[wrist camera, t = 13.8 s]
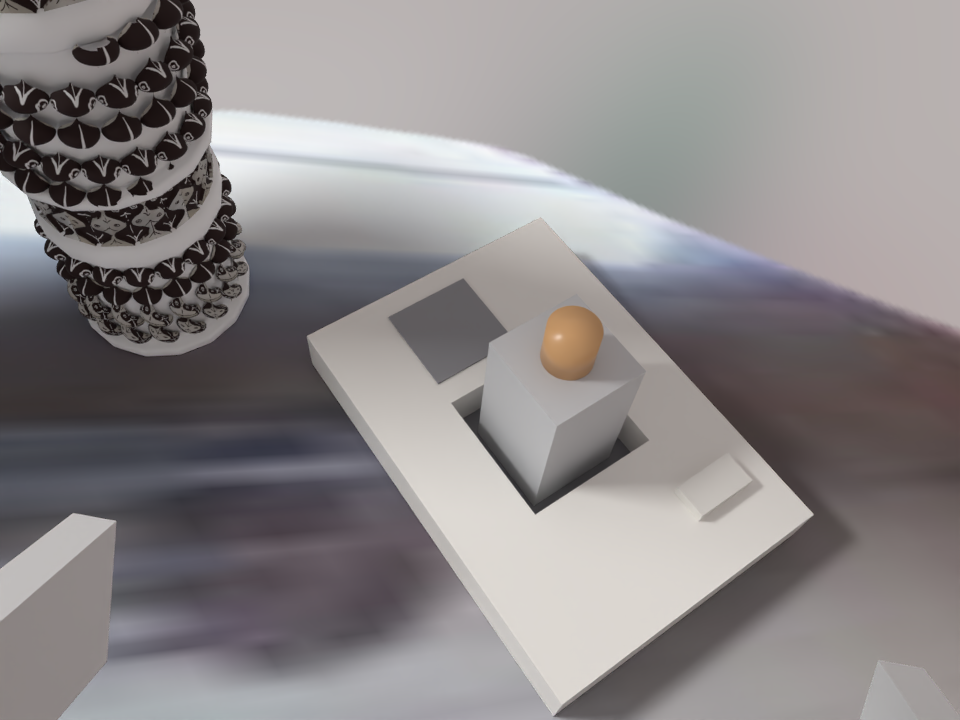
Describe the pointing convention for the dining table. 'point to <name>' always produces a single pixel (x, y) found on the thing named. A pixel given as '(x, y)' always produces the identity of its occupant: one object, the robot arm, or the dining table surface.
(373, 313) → the socket plate
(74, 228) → the decorative candle
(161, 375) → the dining table surface
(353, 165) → the dining table surface
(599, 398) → the egg topped pedestal
